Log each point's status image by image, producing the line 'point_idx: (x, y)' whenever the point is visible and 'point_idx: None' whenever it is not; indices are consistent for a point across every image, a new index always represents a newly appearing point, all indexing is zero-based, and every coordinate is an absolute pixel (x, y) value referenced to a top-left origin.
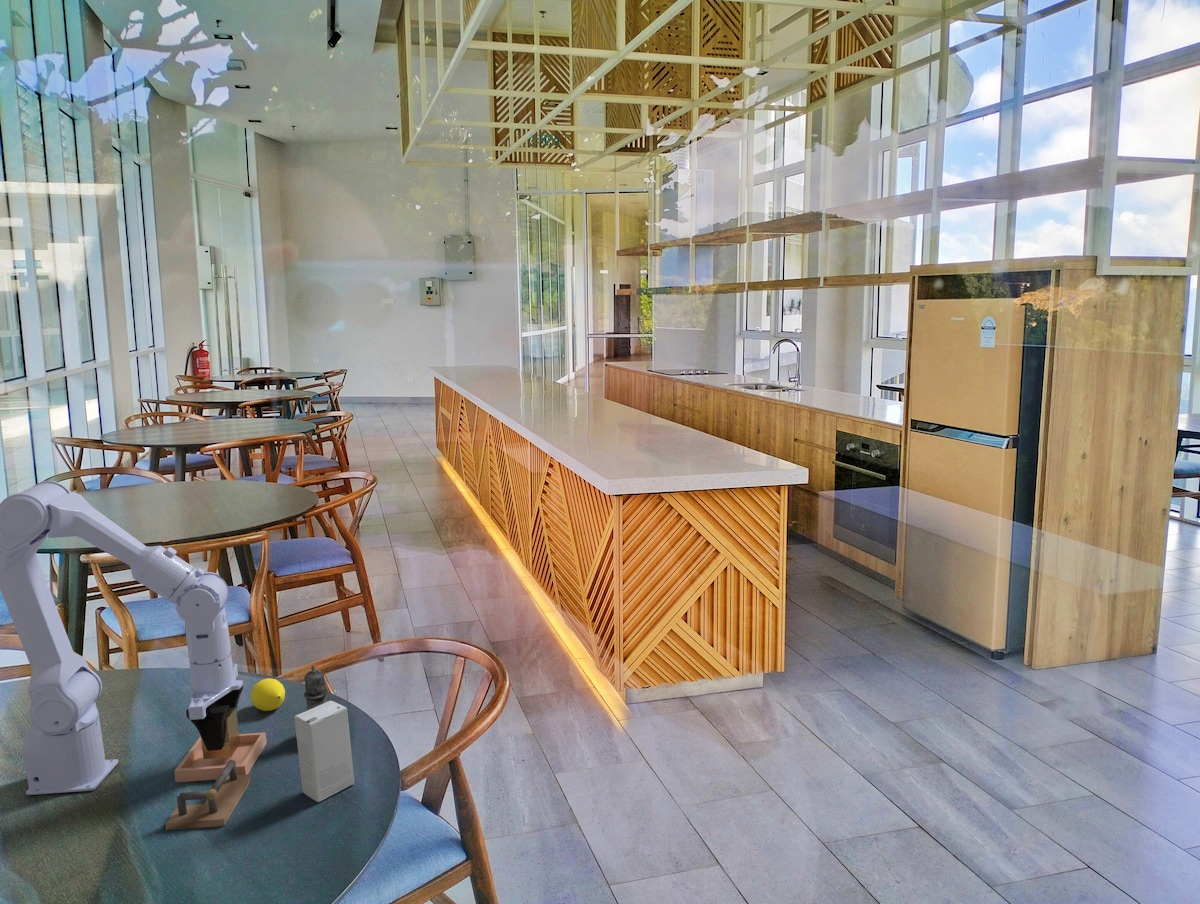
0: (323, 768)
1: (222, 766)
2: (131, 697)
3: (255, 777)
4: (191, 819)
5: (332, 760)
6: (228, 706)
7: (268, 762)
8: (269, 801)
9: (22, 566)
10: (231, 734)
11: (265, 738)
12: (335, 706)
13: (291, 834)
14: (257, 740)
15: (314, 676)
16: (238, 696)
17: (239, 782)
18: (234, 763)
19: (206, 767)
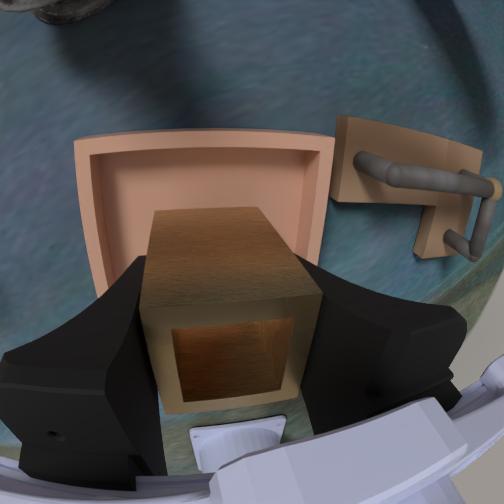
0: None
1: (318, 213)
2: (7, 448)
3: (321, 104)
4: (466, 212)
5: None
6: (423, 327)
7: (231, 81)
8: (428, 62)
9: None
10: (246, 239)
11: (87, 137)
12: None
13: (497, 39)
14: (139, 146)
15: None
16: (86, 345)
17: (383, 140)
18: (403, 164)
19: (310, 261)
